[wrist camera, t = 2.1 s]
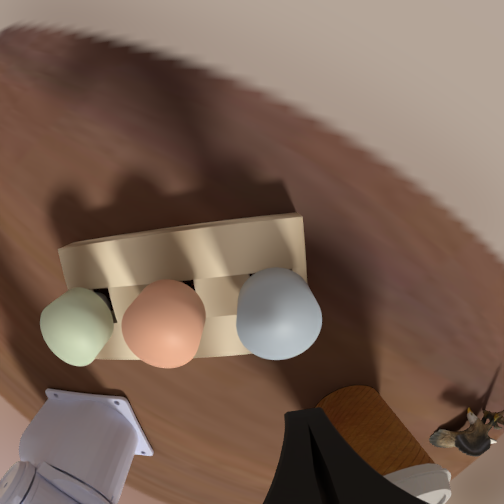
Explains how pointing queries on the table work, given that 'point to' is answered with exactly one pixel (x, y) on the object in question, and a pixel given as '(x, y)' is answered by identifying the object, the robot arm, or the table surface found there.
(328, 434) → the robot arm
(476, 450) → the eagle figurine
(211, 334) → the button board
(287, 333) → the slate button
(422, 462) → the disposable coffee cup
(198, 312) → the peach round knob
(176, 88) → the table surface
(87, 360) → the sage button
